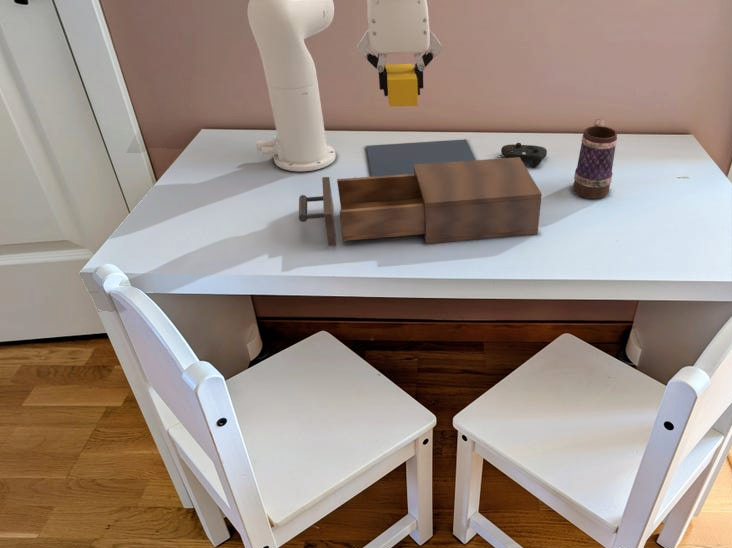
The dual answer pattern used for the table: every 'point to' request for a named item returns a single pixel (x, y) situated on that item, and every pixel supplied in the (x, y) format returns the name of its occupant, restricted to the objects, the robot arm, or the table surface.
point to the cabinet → (478, 199)
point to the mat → (415, 156)
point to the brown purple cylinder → (595, 161)
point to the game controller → (525, 153)
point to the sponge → (402, 85)
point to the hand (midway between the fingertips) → (401, 92)
